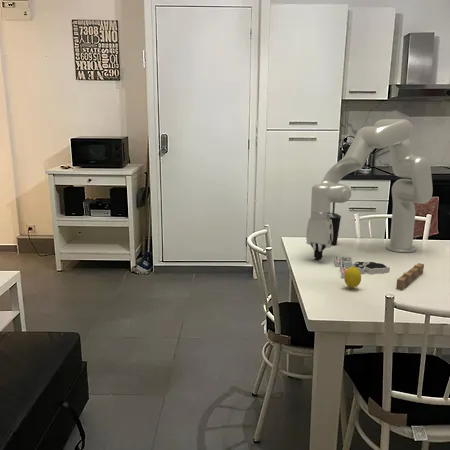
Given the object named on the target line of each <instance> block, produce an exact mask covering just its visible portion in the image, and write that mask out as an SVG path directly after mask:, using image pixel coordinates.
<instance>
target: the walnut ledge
mask: <svg viewBox="0 0 450 450" xmlns="http://www.w3.org/2000/svg"><path fill="white" fill-rule="evenodd" d="M424 268H425V264H424V263H419V262H418V263H417V264H413V267H411V268H410V269H409V270H408V271H406V272H403V274H402V275H401V276H400V277H398V278H397V279H396V288H395V289H396V290H397V291H398V290H399V291H404V290H405V289H406V288H407V287H408V286H409V285H411V284H412V283H414V281H416V279H418V278H419V277H420V276H421V275H423V274H424V270H425V269H424Z"/></svg>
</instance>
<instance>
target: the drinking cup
mask: <svg viewBox="0 0 450 450" xmlns="http://www.w3.org/2000/svg"><path fill="white" fill-rule="evenodd" d="M330 214H333V217H332V218H330V219H331V220H332V225H333V242H332V243H331V245H332V246H331V247H333V246H337V244H338V238H339V231H340V224H341V220H342V215H340V214H339V213H337V212H335V203H334V202H332V211H331V212H330Z"/></svg>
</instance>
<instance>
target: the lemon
mask: <svg viewBox="0 0 450 450" xmlns="http://www.w3.org/2000/svg"><path fill="white" fill-rule="evenodd" d="M343 280H344V283H345V285H346V286H347V287H349V288H350V289H352V290H353V289H354V288H356V287H358V286H359V285H360V284H361V282H362V274H361V273H360V271H359V270H358V269H357V268H356V267H354V266H352V267H350V268H348V269H347V270H346V272H345V275H344V279H343Z"/></svg>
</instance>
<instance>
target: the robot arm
mask: <svg viewBox="0 0 450 450" xmlns="http://www.w3.org/2000/svg"><path fill="white" fill-rule="evenodd" d="M413 130H414V126H413V124H412V122H410V121H409V120H408V119H404V118H401V119H399V118H387V119H386V118H384V119H379V120H377V121H376V122H374V124H373V125H371V126H364V127H361V128H359V130H357V133H356V135H355V137H353V139H352V142H351V144H350V146H349V147H348V149H347V151H346V153H345V154H344V156H343V157H342V159H340V160H338V162H336V163H335V164H334V165H333V166H331V168H330V169H328V171H327V172H326V173H325V174H324V177H323V178H322V181H321V183H319V184H315V185H313V186H312V187H311V198H310V199H311V201H310V217H309V218H308V220H307V226H306V232H305V233H306V234H305V235H306V236H305V237H306V238H305V239H306V245H310V246H311V248H312V249H313V258H314V261H321V260H322V259H323V256H324V255H323V251H324V250H325V249H327V248H331V247H333V246H332V245H331V243H332V242H333V225H332V220H331V219H330V218H332V217H333V214H330V213H331V204H332V203H333V202H334V204H335V203H336V204H338V203H339V204H344V203H346V202H348V201H349V200H350V199H351V197H352V190H351V188H350V187H349V186H348V185H346V184H343V183H339V182H340V181H341V180H342V179H343V178H344V177H345V176H347V175H349V174H351V173H353V172H356V171H358V170H360V169H362V168H363V167H364V166H365V164H366V162H367V160H368V158H369V156H370V155H371V153H372V151H373V149H386V148H389V154H390V161H391V168H392V173H393V175H394V176H397V177H398V178H400V179H397V180H395V182H394V183H393V184H392V186H391V197H392V212H391V224H390V235H389V236H390V237H389V243H387V244H386V245H385V248H386V249H387V250H389V251H391V252H396V253H413V252H416V250H417V249H416V246H415V245H413V243H414V231H415V223H416V222H415V220H416V206H415V204H420V205H422V204H428V203H429V202H430V201H431V200H432V196H433V188H434V187H433V179H432V170H431V165H430V162H429V160H428V159H427V158H426V157H423V156H421V155H420V156H419V155H414V154H413V151H412V145H411V141H410V139H409V138H410V137H411V136H412V134H413V132H414V131H413Z"/></svg>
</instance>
